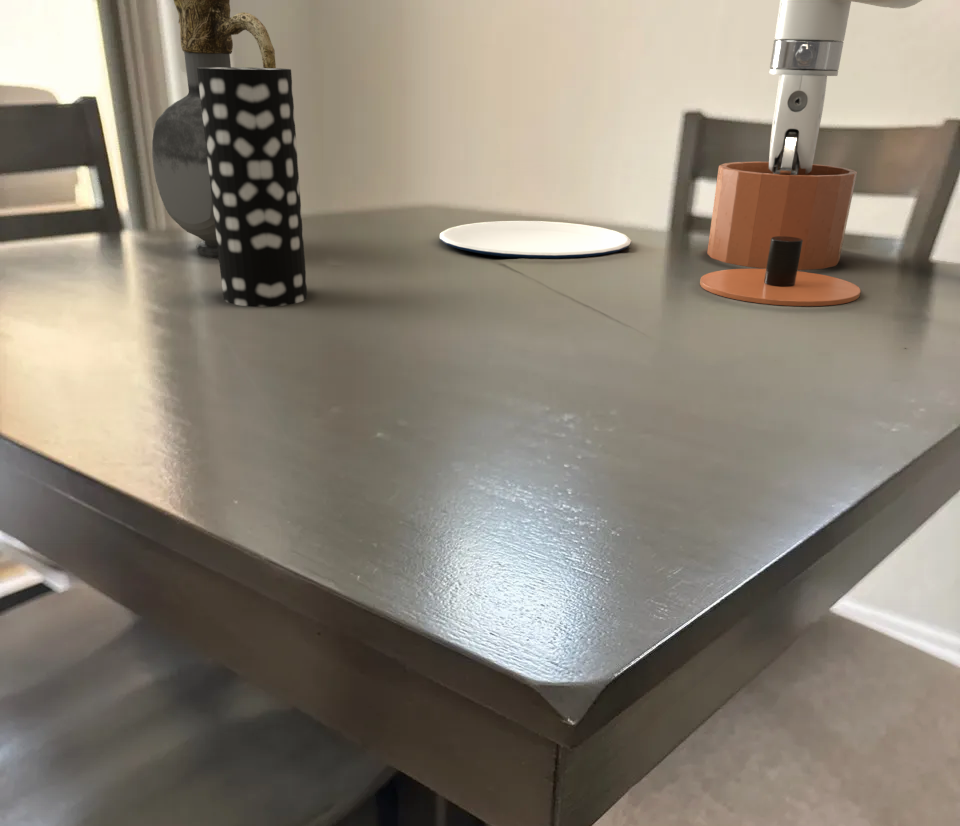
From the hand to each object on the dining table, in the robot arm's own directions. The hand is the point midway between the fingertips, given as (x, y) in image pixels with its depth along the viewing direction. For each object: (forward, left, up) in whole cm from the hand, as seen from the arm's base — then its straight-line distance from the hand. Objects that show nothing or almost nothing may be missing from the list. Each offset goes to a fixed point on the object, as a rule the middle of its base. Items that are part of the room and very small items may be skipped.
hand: (776, 230), depth 119 cm
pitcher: (+62, -21, -4) cm, 66 cm away
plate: (+24, -18, -4) cm, 30 cm away
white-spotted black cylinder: (+63, +3, -4) cm, 63 cm away
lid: (+11, +16, -3) cm, 19 cm away
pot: (0, 0, -4) cm, 4 cm away
